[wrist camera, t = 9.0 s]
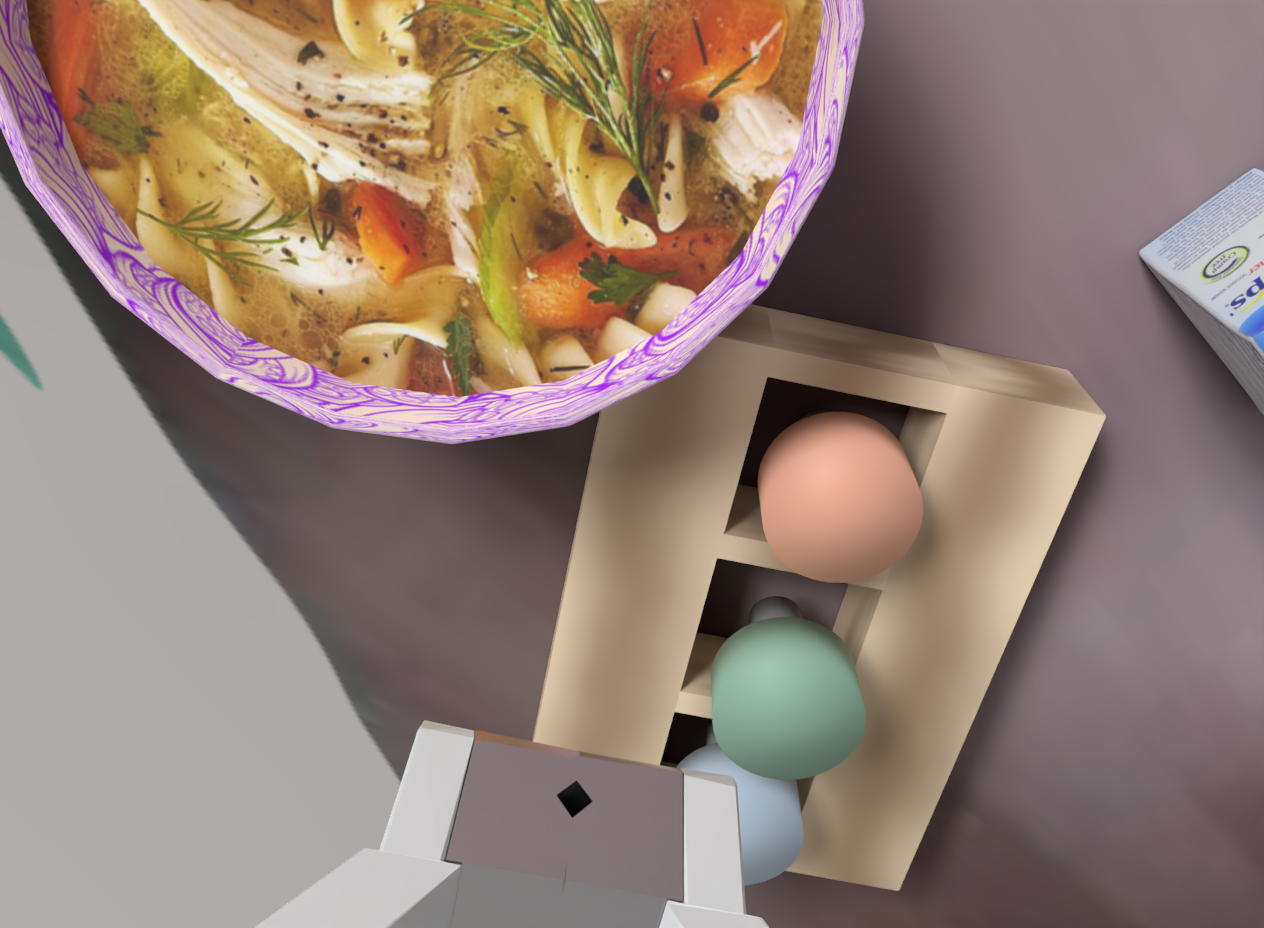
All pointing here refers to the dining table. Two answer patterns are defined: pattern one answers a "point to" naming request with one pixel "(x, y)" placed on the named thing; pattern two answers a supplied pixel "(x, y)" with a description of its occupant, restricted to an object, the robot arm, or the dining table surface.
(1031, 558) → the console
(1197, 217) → the medicine box
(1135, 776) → the dining table surface
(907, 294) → the dining table surface
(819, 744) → the button green
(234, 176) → the bowl of food
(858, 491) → the button terracotta
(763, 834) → the button slate
